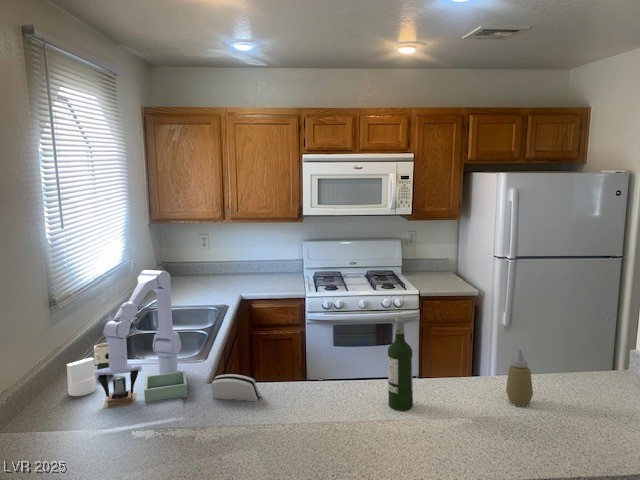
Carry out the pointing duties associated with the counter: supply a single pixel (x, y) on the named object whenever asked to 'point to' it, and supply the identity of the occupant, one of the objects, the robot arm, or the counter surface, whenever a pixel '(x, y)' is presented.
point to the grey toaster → (234, 387)
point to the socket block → (120, 400)
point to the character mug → (102, 356)
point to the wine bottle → (400, 370)
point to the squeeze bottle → (519, 381)
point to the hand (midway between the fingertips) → (120, 394)
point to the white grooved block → (81, 377)
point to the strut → (119, 387)
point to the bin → (167, 390)
